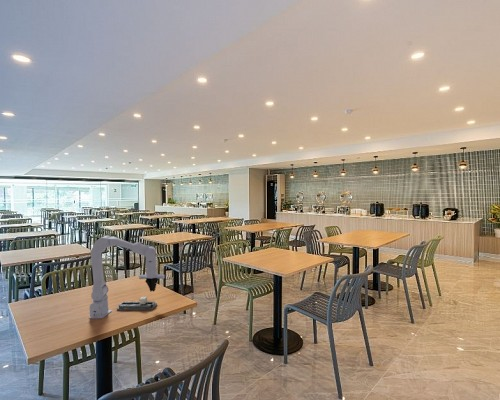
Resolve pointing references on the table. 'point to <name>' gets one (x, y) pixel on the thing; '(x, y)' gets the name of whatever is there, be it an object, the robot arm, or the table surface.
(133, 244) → the robot arm
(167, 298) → the table surface
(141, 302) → the fader knob
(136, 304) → the console
